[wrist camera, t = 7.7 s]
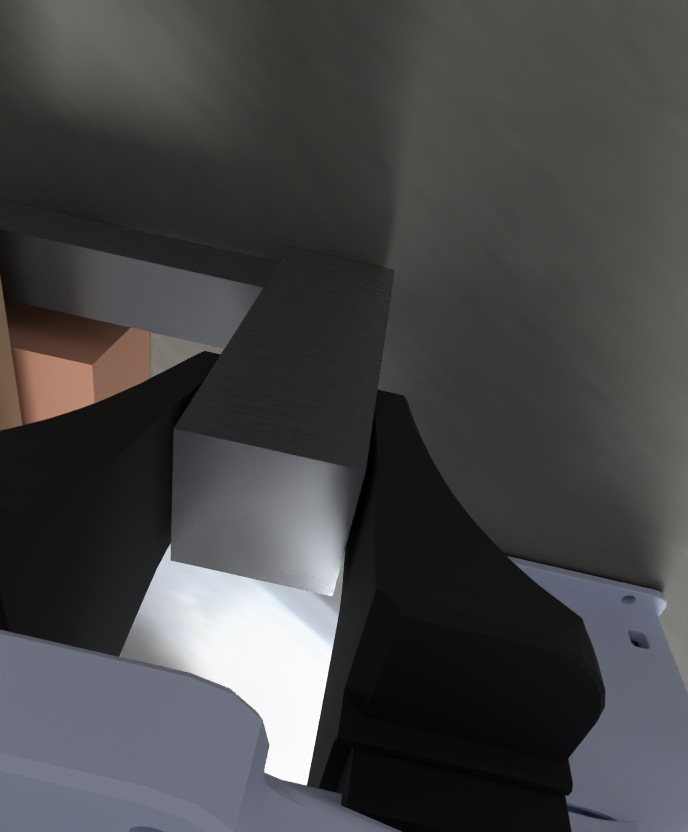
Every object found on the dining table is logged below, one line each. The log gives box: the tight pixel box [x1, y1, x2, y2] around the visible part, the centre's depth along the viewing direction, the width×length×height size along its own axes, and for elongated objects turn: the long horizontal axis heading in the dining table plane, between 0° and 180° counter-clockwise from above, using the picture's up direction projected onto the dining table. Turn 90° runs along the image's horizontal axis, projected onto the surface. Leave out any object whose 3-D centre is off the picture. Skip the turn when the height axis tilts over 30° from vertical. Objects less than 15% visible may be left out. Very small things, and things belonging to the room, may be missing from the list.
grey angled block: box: [0, 200, 394, 596], centre depth 15 cm, size 14×8×9 cm, turn 79°
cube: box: [4, 299, 150, 425], centre depth 19 cm, size 4×4×4 cm
